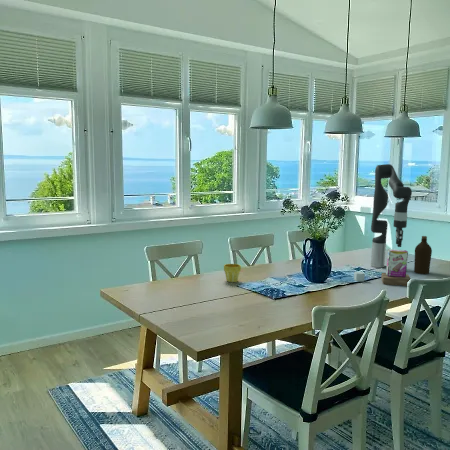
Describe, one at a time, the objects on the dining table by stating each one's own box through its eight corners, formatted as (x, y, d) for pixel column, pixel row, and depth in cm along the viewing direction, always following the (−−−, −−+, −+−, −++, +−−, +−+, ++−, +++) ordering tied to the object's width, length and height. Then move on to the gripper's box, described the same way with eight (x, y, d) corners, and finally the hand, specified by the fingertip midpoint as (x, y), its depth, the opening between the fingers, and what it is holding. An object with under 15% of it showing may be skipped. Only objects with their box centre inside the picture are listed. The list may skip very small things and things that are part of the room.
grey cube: (353, 279, 296) (354, 271, 295) (361, 279, 296) (362, 271, 295) (356, 281, 291) (356, 273, 290) (364, 281, 291) (364, 273, 290)
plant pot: (229, 277, 294) (230, 262, 293) (243, 280, 288) (244, 265, 287) (220, 281, 286) (220, 265, 284) (234, 283, 280) (234, 268, 278)
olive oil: (425, 275, 310) (428, 238, 306) (410, 272, 318) (412, 235, 314) (432, 273, 316) (436, 236, 313) (418, 270, 324) (420, 234, 321)
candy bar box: (387, 276, 288) (389, 250, 285) (385, 274, 293) (387, 249, 290) (406, 277, 287) (408, 251, 284) (404, 275, 291) (406, 249, 289)
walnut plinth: (381, 278, 299) (381, 272, 298) (407, 280, 295) (408, 274, 294) (383, 284, 285) (383, 277, 285) (410, 286, 282) (411, 280, 281)
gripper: (392, 217, 292) (390, 243, 294) (395, 220, 278) (393, 247, 281) (405, 218, 290) (403, 243, 293) (408, 221, 277) (406, 248, 279)
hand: (398, 245), depth 287 cm, fingers open, 8 cm apart
